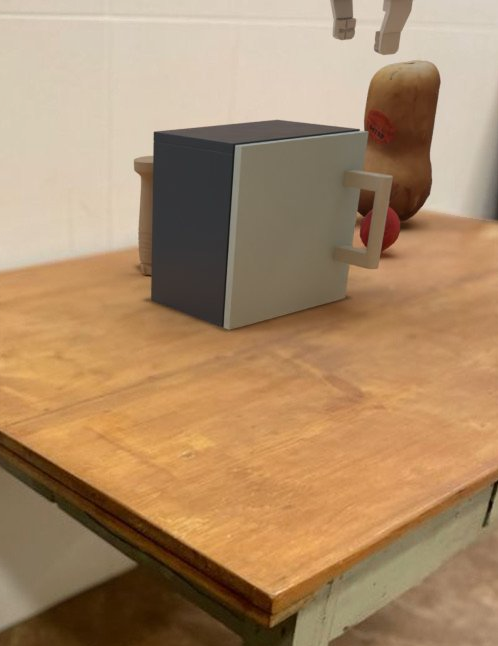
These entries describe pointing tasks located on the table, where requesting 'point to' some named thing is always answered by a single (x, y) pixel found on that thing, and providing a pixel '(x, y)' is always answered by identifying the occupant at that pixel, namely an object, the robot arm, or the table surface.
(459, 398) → the table surface
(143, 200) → the handle
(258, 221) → the door
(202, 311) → the cupboard
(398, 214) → the butternut squash
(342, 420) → the table surface
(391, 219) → the onion
